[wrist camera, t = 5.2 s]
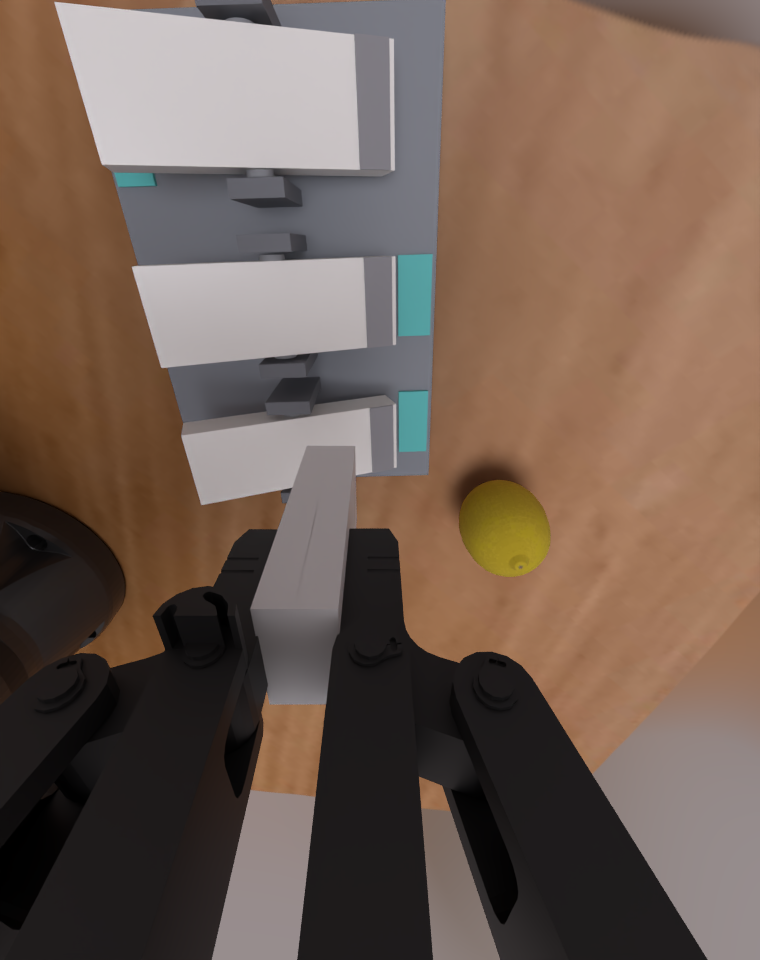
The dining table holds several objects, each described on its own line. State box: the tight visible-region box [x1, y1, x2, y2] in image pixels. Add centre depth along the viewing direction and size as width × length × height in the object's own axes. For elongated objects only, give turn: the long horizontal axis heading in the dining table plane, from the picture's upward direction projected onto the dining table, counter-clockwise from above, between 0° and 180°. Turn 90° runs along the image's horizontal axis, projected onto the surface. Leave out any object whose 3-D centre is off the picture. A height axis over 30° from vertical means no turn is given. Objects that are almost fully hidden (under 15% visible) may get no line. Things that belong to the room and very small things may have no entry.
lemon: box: [459, 480, 550, 577], centre depth 27 cm, size 6×6×8 cm
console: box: [112, 0, 446, 503], centre depth 20 cm, size 14×20×8 cm
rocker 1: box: [55, 2, 395, 178], centre depth 14 cm, size 10×4×2 cm, turn 91°
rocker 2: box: [132, 254, 396, 368], centre depth 17 cm, size 10×4×2 cm, turn 91°
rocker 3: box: [181, 395, 397, 505], centre depth 21 cm, size 10×4×2 cm, turn 91°
